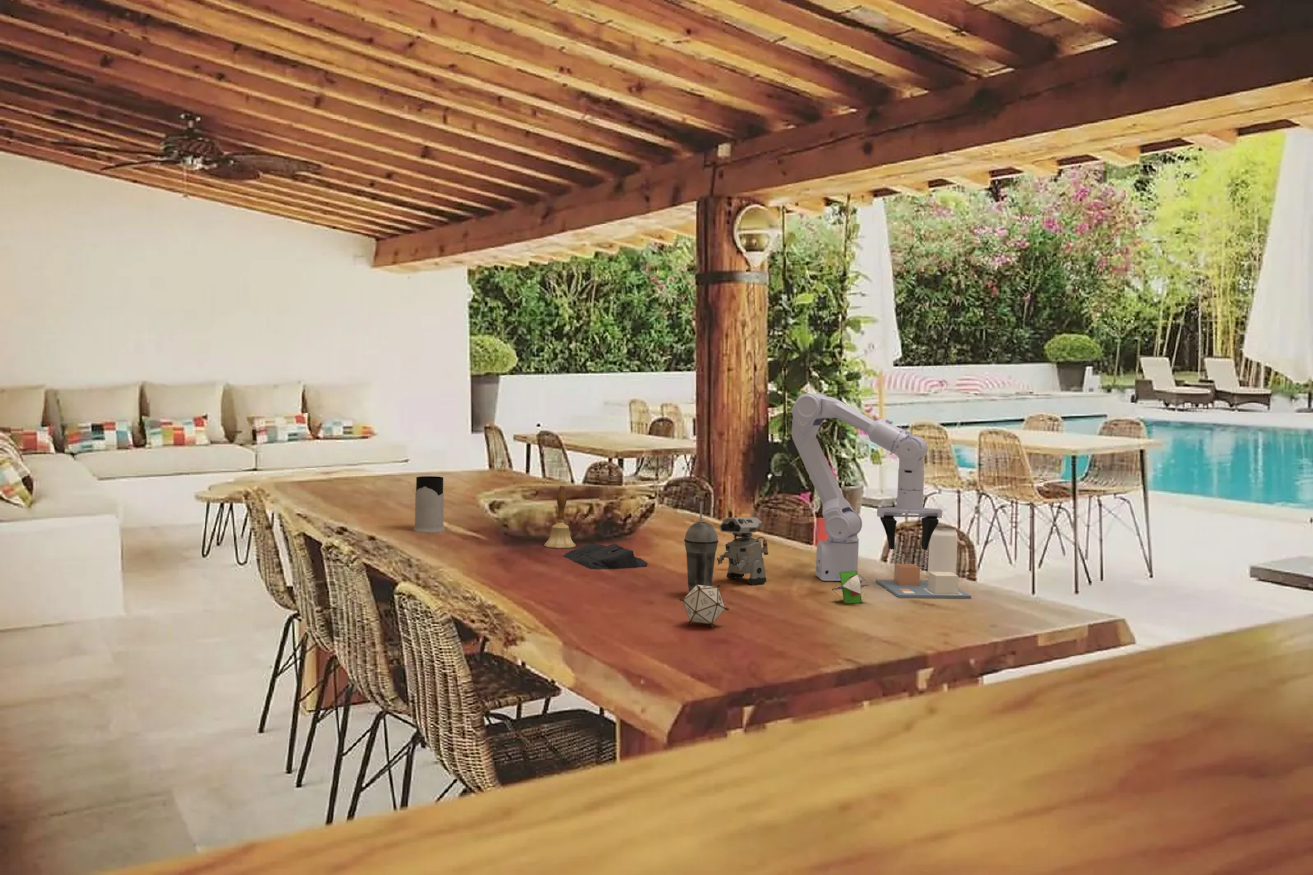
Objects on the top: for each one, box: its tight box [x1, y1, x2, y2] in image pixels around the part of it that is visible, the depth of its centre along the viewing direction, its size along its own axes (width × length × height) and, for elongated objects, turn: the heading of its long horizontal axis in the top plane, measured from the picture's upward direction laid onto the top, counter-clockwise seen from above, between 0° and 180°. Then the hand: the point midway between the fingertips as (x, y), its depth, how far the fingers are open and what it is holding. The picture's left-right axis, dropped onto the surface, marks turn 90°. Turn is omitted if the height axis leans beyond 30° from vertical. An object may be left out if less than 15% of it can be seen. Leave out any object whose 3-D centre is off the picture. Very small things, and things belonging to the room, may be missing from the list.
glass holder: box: [413, 475, 446, 534], centre depth 334 cm, size 9×14×15 cm, turn 171°
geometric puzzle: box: [831, 570, 871, 605], centre depth 246 cm, size 7×7×8 cm
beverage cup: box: [684, 501, 719, 593], centre depth 249 cm, size 7×7×20 cm
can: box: [927, 525, 959, 575], centre depth 278 cm, size 6×6×12 cm
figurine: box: [716, 515, 769, 586], centre depth 265 cm, size 9×12×15 cm
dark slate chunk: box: [562, 542, 649, 571], centre depth 288 cm, size 15×22×5 cm
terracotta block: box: [893, 563, 921, 585], centre depth 266 cm, size 4×4×4 cm
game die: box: [678, 581, 731, 629], centre depth 220 cm, size 9×8×10 cm
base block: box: [927, 572, 959, 594], centre depth 257 cm, size 5×5×4 cm
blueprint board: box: [875, 579, 972, 600], centre depth 262 cm, size 16×18×1 cm
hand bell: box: [543, 485, 576, 549], centre depth 310 cm, size 8×8×16 cm
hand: (908, 549), depth 266 cm, fingers open, 7 cm apart
